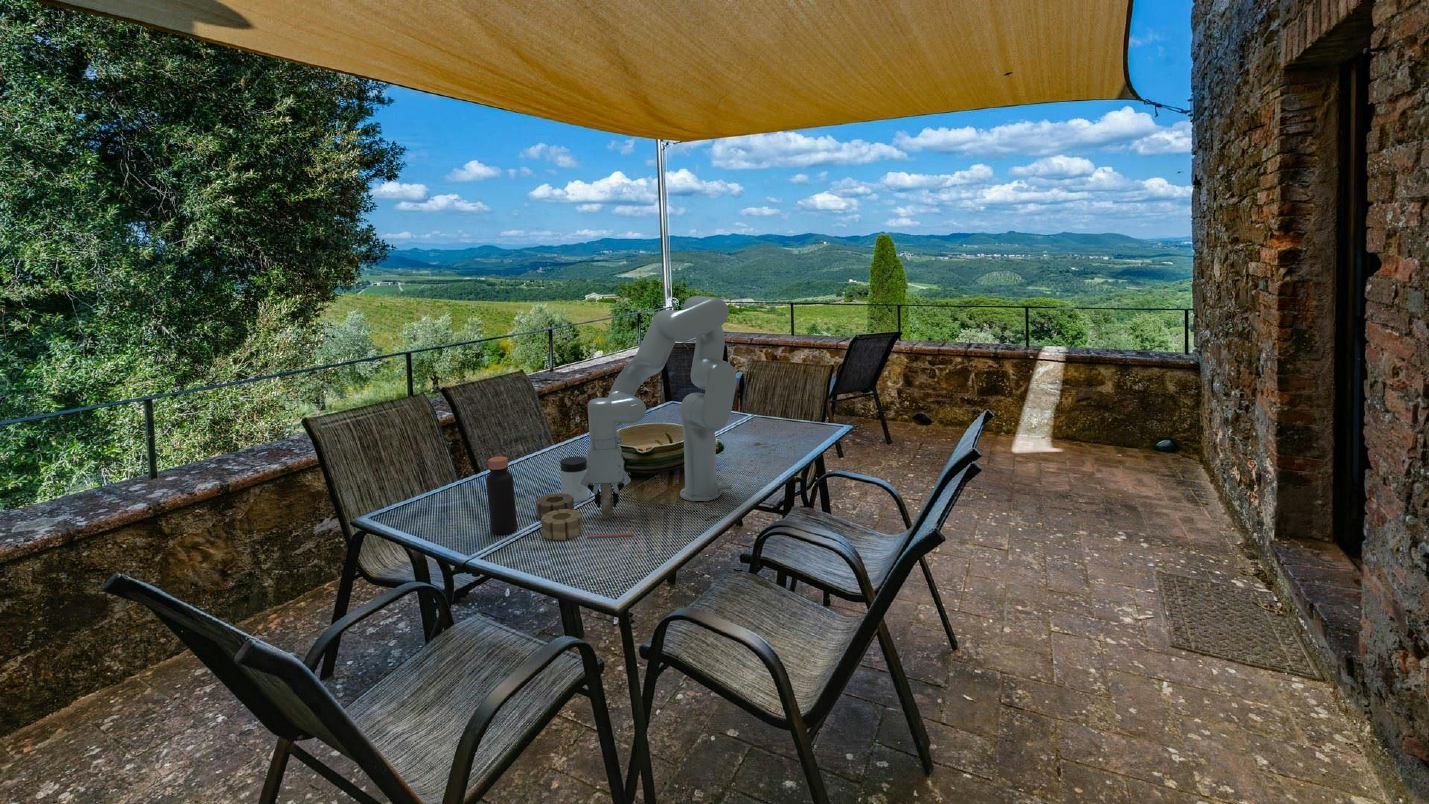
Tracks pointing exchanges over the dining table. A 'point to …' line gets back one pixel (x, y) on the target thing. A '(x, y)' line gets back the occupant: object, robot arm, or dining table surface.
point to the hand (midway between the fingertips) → (607, 505)
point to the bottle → (501, 497)
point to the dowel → (606, 500)
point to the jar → (574, 478)
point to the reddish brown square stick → (610, 535)
